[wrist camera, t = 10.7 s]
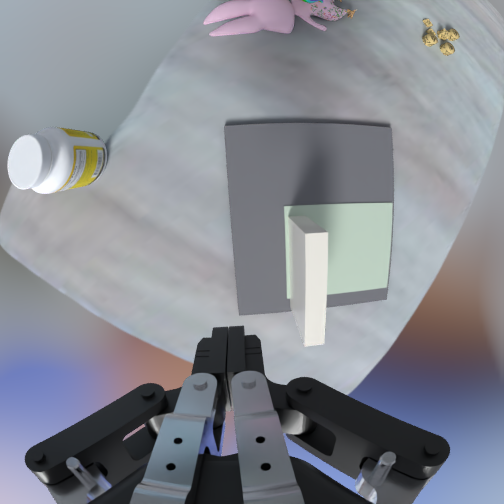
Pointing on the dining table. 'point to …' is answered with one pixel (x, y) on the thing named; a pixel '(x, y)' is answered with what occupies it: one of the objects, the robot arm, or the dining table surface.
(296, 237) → the tile
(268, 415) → the robot arm
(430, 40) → the yellow speckled pebbles
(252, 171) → the mat
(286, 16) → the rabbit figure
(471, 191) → the dining table surface
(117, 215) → the dining table surface
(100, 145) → the supplement bottle
